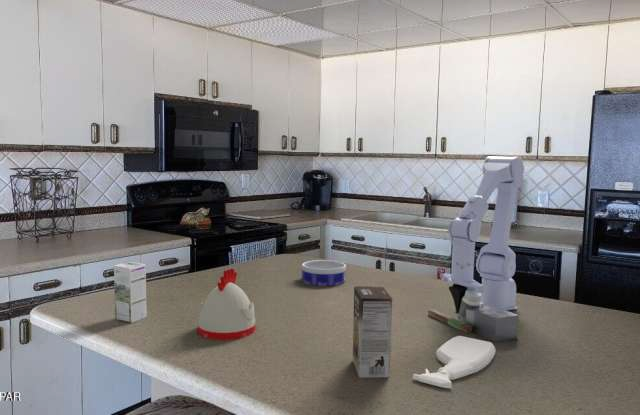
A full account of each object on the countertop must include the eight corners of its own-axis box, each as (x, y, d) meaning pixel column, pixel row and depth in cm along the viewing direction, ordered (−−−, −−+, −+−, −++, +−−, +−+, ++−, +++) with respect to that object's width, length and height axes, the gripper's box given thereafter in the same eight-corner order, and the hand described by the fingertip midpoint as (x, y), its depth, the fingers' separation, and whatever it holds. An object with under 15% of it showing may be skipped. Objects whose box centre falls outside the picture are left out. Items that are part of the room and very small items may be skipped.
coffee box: (351, 360, 111) (353, 285, 109) (381, 359, 111) (383, 285, 110) (358, 378, 102) (360, 297, 100) (390, 377, 102) (393, 297, 101)
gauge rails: (459, 310, 148) (460, 305, 148) (500, 327, 134) (501, 322, 134) (428, 314, 144) (428, 309, 144) (467, 333, 129) (467, 327, 129)
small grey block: (486, 324, 136) (487, 300, 135) (506, 333, 129) (507, 307, 129) (465, 328, 133) (466, 302, 132) (484, 336, 126) (485, 310, 126)
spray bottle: (499, 356, 115) (459, 398, 96) (452, 345, 122) (405, 382, 102) (500, 343, 115) (460, 383, 95) (452, 333, 121) (405, 368, 102)
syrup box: (147, 317, 136) (146, 263, 135) (130, 323, 131) (129, 267, 130) (131, 314, 139) (130, 260, 137) (113, 320, 134) (112, 264, 132)
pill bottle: (475, 327, 135) (483, 299, 132) (456, 322, 136) (464, 294, 133) (475, 318, 139) (482, 290, 136) (457, 313, 140) (464, 286, 137)
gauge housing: (494, 328, 133) (496, 306, 132) (517, 338, 126) (518, 315, 126) (473, 332, 130) (474, 309, 130) (494, 342, 123) (496, 318, 123)
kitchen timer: (264, 325, 133) (265, 267, 131) (239, 342, 120) (239, 278, 118) (216, 318, 137) (216, 262, 136) (186, 335, 124) (186, 273, 123)
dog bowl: (346, 287, 173) (346, 269, 173) (300, 286, 174) (300, 268, 173) (344, 276, 189) (345, 260, 188) (302, 275, 189) (302, 259, 188)
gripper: (433, 258, 143) (431, 307, 145) (469, 269, 130) (466, 322, 132) (454, 257, 146) (452, 304, 148) (491, 267, 133) (488, 319, 134)
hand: (460, 312), depth 140 cm, fingers closed
